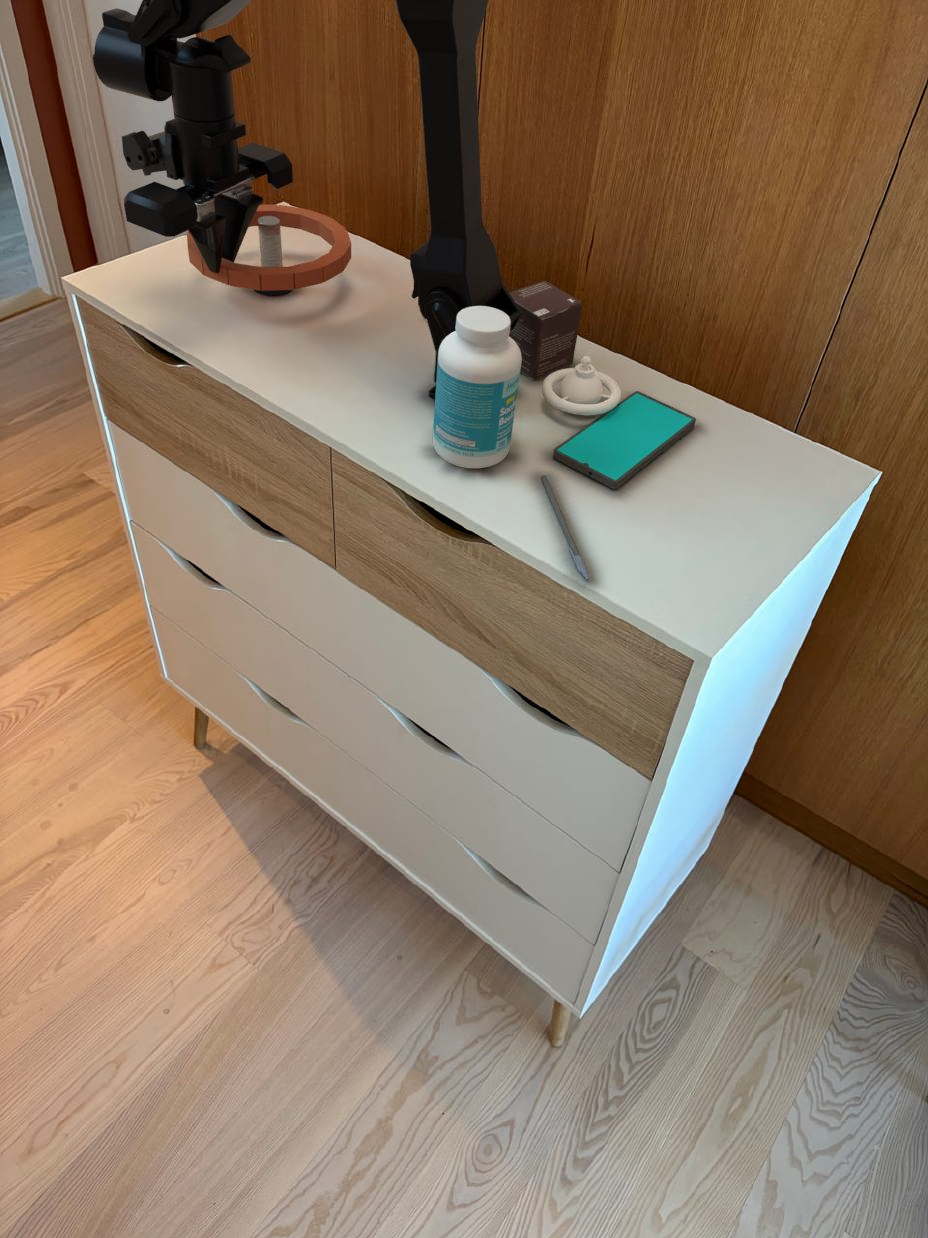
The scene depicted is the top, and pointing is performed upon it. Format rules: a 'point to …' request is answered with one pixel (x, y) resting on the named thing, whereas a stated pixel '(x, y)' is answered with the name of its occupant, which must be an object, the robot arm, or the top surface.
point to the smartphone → (624, 439)
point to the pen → (566, 530)
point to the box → (545, 328)
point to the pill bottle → (476, 389)
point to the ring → (289, 275)
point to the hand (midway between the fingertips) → (221, 268)
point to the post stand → (270, 248)
